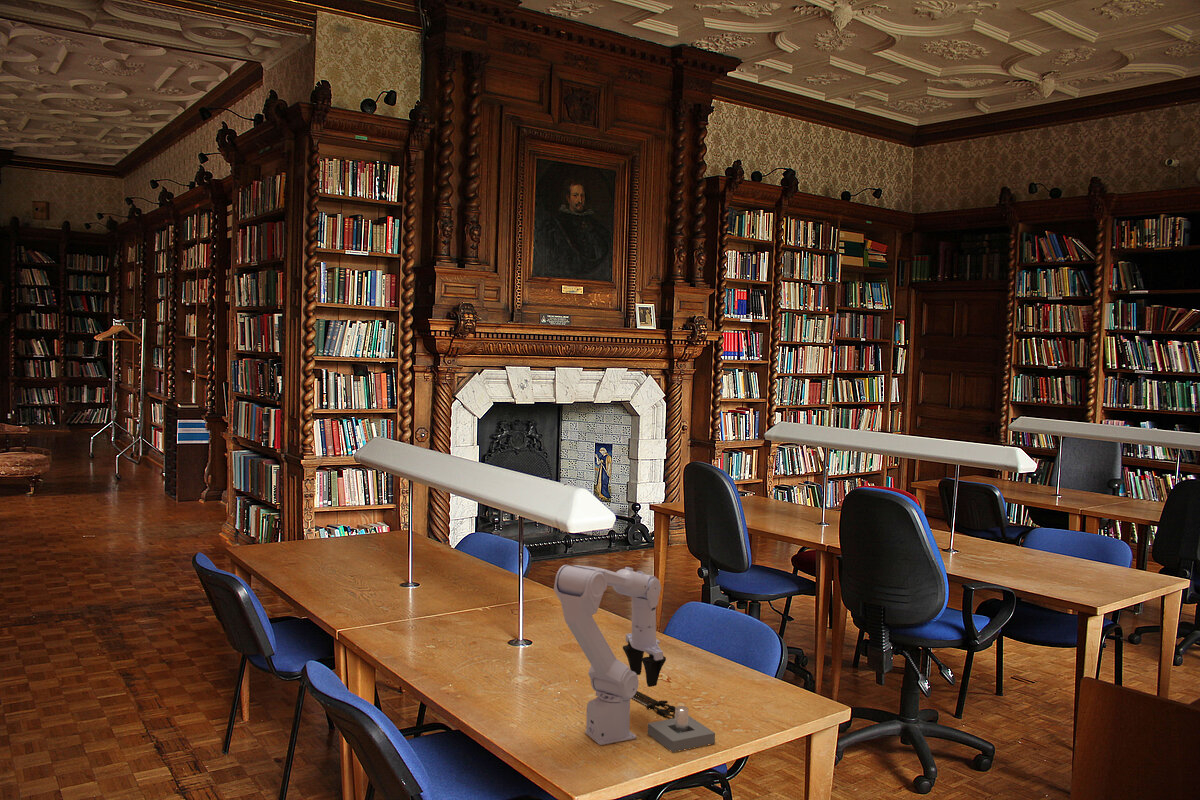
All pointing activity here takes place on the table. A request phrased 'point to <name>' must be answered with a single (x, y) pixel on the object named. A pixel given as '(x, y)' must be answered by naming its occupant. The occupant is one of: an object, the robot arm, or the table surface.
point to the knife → (651, 704)
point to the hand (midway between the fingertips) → (644, 680)
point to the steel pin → (681, 719)
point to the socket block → (680, 734)
